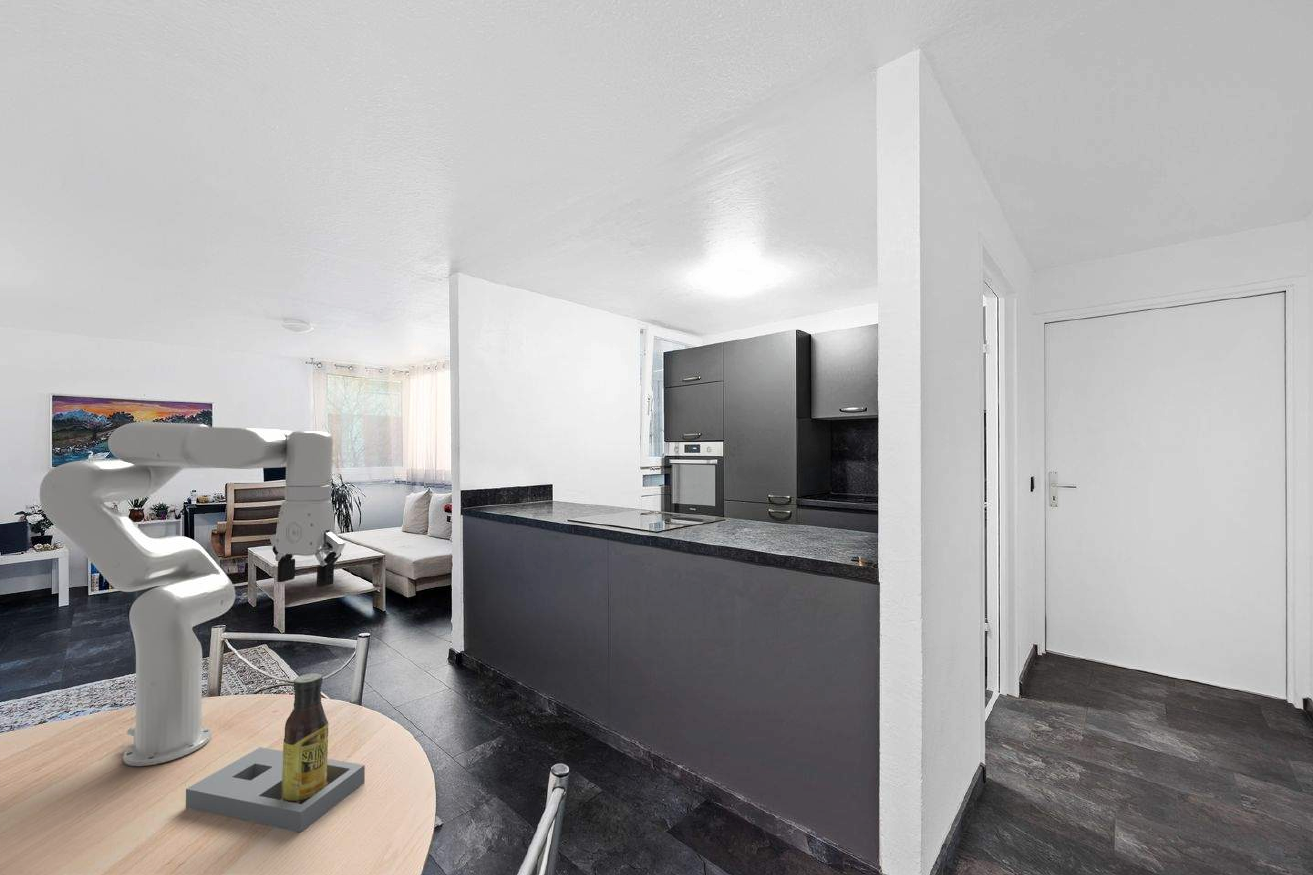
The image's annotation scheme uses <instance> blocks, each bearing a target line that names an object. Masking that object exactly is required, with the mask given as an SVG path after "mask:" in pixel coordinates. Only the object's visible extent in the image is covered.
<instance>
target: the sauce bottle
mask: <svg viewBox="0 0 1313 875" xmlns="http://www.w3.org/2000/svg"><path fill="white" fill-rule="evenodd" d="M323 681H324V680H323V675H322V674H321V673H317V672H315V673H312V672H311V673H307V674H303V675H300V676H298V677H295V678H294V680H293V690H294V697H293V698H294V700H293V701H294V702H293V709H292V711H291V712H290V714H289V716H288V717H287V719H286V721H285V725H284V737H283V746H282V751H283V770H282V793H281V795H282V797H283V798H282V799H281V800H282V801H287V802H292V803H297V804H303V803H304V802H306V801H307V800H308V799H310V798H311V797H312V796H314V795H315V794H317V793H318V792H319V791H321V790H322V789H324V788H325V787H326V786H327V785H328V784H327V783H328V782H327V759H328V754H329V752H328V751H329V721H328V719H327V717H326V714H325V710H324V708H323V704H322V697H321V696H322V693H321V692H322V684H323Z"/></svg>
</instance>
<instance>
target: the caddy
mask: <svg viewBox="0 0 1313 875" xmlns="http://www.w3.org/2000/svg"><path fill="white" fill-rule="evenodd" d="M365 766H366V765H365V764H361V763H355V762H349V761H343V760H336V759H332V758H327V783H328V784H327V785H326V787H325V788H324V789H322V790H321V791H319V792H318V793H317V794H315V795H314V796H312V797H311V798H310V799H308V800H307V801H306V802H304V803H303V804H297V803H292V802H287V801H282V800H283V797H282V795H281V793H282V770H283V750H278V749H273V748H266V747H261V746H259V747H258V748H256V749H254V750H253V751H251V752H248V753H247V754H246V755H244V756H242V757H240V758H238V759H237V760H235V761H233V762H231V763H230V764H228V765H225V766H224V767H222V768H221V769H218V770H217V771H216V772H214V773H212V774H210V775H208V776H206V777H205V778H203V779H200V780H199V781H197V782H195V783H194V784H192V785H191V786H189V787H186V789H185V809H188V810H189V809H190V810H194V811H199V812H203V813H207V814H208V813H209V814H213V815H218V816H222V817H227V818H232V819H236V820H241V821H245V822H246V821H247V822H249V823H255V824H259V825H265V826H269V827H273V828H278V829H283V830H287V831H292V832H297V833H302V832H303V831H304V830H306V829H307V828H309V826H311V825H312V824H313V823H315V822H316V821H317V820H319V819H320V818H321V817H323V815H325V814H326V813H328V812H329V811H330V810H332V809H333V808H334V807H335V806H337V804H339V803H340V802H342V801H343V800H344V799H346V798H347V797H348V796H349V795H351V794H352V793H353V792H354V791H356V790H357V789H358V788H359V787H361V786H363V785H364V784H365V781H366V780H365V777H366V775H365V771H366V770H365V769H366V768H365Z"/></svg>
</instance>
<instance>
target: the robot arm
mask: <svg viewBox="0 0 1313 875" xmlns="http://www.w3.org/2000/svg"><path fill="white" fill-rule="evenodd" d="M333 441H334V440H333V437H332V435H331V434H330V433H329V432H326V431H318V430H317V431H316V430H314V431H313V430H311V431H310V430H309V431H308V430H295V431H292V430H288V429H273V428H259V427H258V428H257V427H256V428H255V427H253V428H252V427H223V426H222V427H221V426H220V427H219V426H209V425H206V424H204V423H203V424H202V423H184V422H183V423H182V422H181V423H180V422H179V423H178V422H156V421H155V422H153V421H135V422H130V423H125V424H123V425H121V426H119V427H117V428H116V429H114V430H113V431H112V432H111V434H110V435H109V437H108V441H107V446H108V447H107V448H108V450H109V451H110V453H111V454H112V455H113V456H114V457H115V458H116V459H86V460H85V459H84V460H76V461H70V462H65V463H63V464H60V465H58V466H56V467H53V468H52V469H51V470H49V471H48V472H47V473H45V475H44V477H43V479H42V480H41V483H40V486H39V502H40V506H41V509H42V512H44V515H45V516H46V518H47V519H48V520H49V521H50V522H51V523H52V524H53V525H54V527H56V528H57V529H58V530H59V531H60V532H62V533H63V534H64V535H65V536H66V537H67V538H68V539H70V541H72V542H73V543H74V544H75V545H76V546H77V547H78V548H79V549H80V550H81V553H83V555H84V556H85V557H86V558H87V559H88V561H89V562H90V563H91V564H92V565H93V566H94V567H95V569H96V570H97V571H98V572H99V573H100V574H101V576H102V577H103V578H104V579H105V580H106V581H107V582H108V584H110V586H112V587H113V588H114V589H116V590H118V591H120V592H124V593H129V592H130V593H131V592H137V591H142V590H146V589H147V591H145V592H143V593H142V594H141V595H140V596H138V597H137V599H135V600H134V602H133V603H132V605H131V607H130V610H129V614H128V616H129V617H128V618H129V624H130V628H131V631H132V635H133V636H132V637H133V640H134V646H135V675H136V676H135V677H136V679H135V680H136V681H135V682H136V683H135V686H136V687H135V689H136V690H135V726H133V727H130V728H129V729H127V733H126V734H127V735H128V736H131V737H133V744H132V745H130V746H129V747H128V748H127V749H126V750H125V751H124V752H123V755H122V756H123V758H122V759H123V760H122V761H123V763H124V764H125V765H128V766H132V767H145V766H154V765H158V764H162V763H163V764H164V763H167V762H170V761H174V760H176V759H180V758H182V757H185V756H187V755H190V754H191V753H194V752H195V751H196V750H197V751H198V750H199V749H201V748H202V747H204V746H205V745H207V743H208V742H209V741H210V740H211V738H212V729H211V728H210V727H208V726H205V725H202V713H203V712H202V709H203V707H202V704H203V702H202V698H203V697H202V696H203V649H202V644H201V642H200V641H199V639H198V638H197V635H196V634H195V632H194V631H193V627H195V626H198V625H200V624H203V623H205V622H208V621H211V620H213V619H216V618H218V617H220V616H222V615H223V614H225V613H226V612H228V611H229V610H230V609H231V608H232V607H233V605H234V603H235V600H236V589H235V586H234V584H233V583H232V580H231V579H230V578H229V576H228V575H227V573H225V572H224V570H223V569H222V568H221V566H220V565H218V563H217V562H216V561H215V560H214V559H213V557H212V556H211V555H210V554H209V553H208V552H207V551H206V550H205V548H204V547H203V546H202V545H200V543H199V542H197V541H195V540H194V539H193V538H190V537H187V536H184V535H167V536H161V537H149V536H147V535H146V534H145V533H144V532H143V530H141V529H140V528H139V527H138V526H137V525H136V523H135V522H134V521H133V520H132V519H131V518H129V517H128V516H127V515H125V514H123V513H122V512H120V511H118V510H116V509H114V508H112V507H109V505H106V504H105V503H111V502H113V503H114V502H121V501H122V502H123V501H132V500H139V499H140V500H141V499H142V498H146V497H149V496H150V495H153V494H154V493H156V492H157V491H159V490H161V488H163V487H164V486H165V485H167V483H168V482H169V481H171V479H173V478H174V477H175V476H177V474H179V473H180V472H181V471H183V470H184V469H185V468H196V469H197V468H198V469H199V468H209V469H212V468H213V469H232V470H234V469H235V470H244V469H245V470H253V469H270V468H272V469H273V468H285V486H284V487H285V488H284V489H285V490H284V501H282V502H281V505H280V509H279V512H278V516H277V517H278V518H277V522H276V524H277V525H276V533H275V534H273V535H272V536H270V538H269V540H270V543H271V546H272V549H271V550H272V552H273V554H274V555H275V558H274V559H275V561H276V562H277V577H276V578H277V579H276V581H277V582H278V583H284V582H288V581H292V580H294V579H295V576H296V574H295V573H296V558H294V556H305V557H312V556H315V558H316V560H317V561H318V563H319V565H317V567H316V587H317V588H322V587H326V586H329V585H330V586H331V585H333V584H334V577H335V576H334V573H335V572H334V570H335V569H334V568H335V564H337V562H338V559H339V558H341V556H342V552H343V549H345V548H344V547H345V545H346V544H345V542H344V541H343V540H342V539H341V538H339V537H338V536H336V534H335V533H336V526H335V524H336V523H335V512H334V507H333V505H334V504H333V502H332V500H331V499H332V478H333V477H332V475H333V472H332V471H333V449H334V448H333V446H334V444H333V443H334V442H333ZM149 588H151V589H150V590H148V589H149Z"/></svg>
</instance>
